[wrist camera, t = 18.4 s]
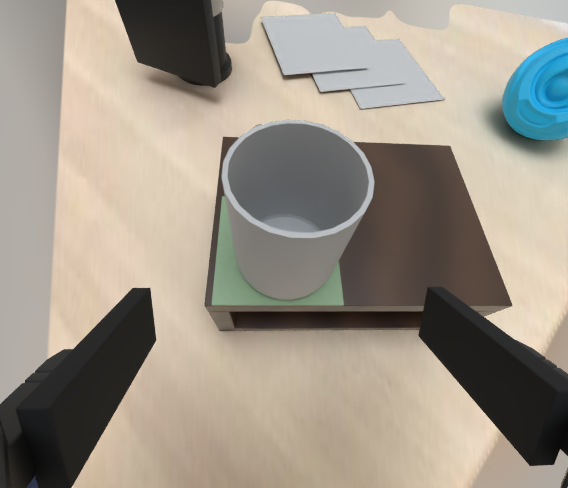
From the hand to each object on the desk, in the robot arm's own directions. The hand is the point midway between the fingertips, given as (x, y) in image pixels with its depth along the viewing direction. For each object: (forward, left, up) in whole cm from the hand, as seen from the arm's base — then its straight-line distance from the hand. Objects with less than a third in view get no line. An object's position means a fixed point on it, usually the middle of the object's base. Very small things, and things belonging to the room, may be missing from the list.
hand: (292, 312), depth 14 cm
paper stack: (+12, +46, -14) cm, 50 cm away
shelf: (+6, +10, -14) cm, 18 cm away
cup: (0, +7, -6) cm, 9 cm away
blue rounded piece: (+37, +31, -14) cm, 50 cm away
